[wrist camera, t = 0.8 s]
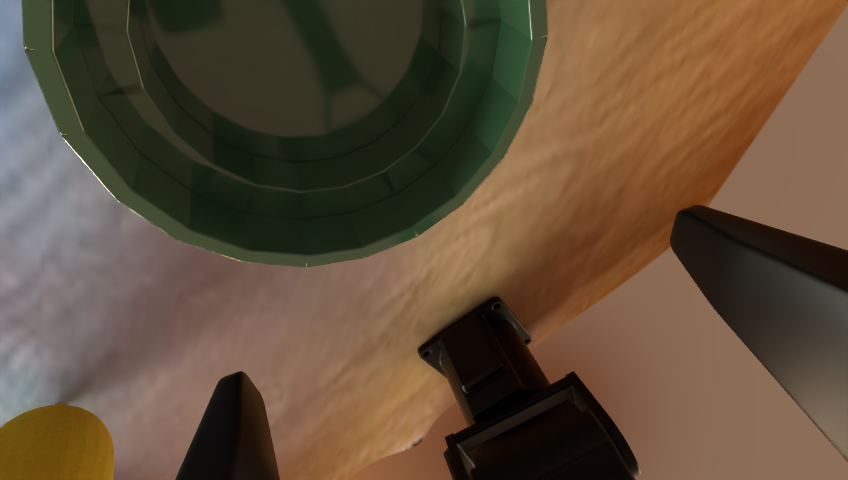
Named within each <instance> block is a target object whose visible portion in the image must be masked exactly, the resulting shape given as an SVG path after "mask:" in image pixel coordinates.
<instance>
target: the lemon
mask: <svg viewBox="0 0 848 480" xmlns="http://www.w3.org/2000/svg"><path fill="white" fill-rule="evenodd" d="M113 473H114V449H113V442H112V438H111V435H110V433H109V431H108V430H107V428H106V427H105V425H104V424H103V422H102V421H101V420H100V419H99V418H98V417H96V416H95V415H93V414H92V413H90V412H89V411H87V410H84V409H82V408H79V407H74V406H69V405H67V404H65V403H58V404H55V405H51V406H45V407H40V408H36V409H33V410H30V411H28V412H25V413H23V414H21V415H19V416H17V417H15V418H14V419H12V420H10V421H9V422H7V423H6V424H4V425H3V426H2V427H1V428H0V480H112V478H113Z"/></svg>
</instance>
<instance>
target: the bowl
mask: <svg viewBox="0 0 848 480" xmlns="http://www.w3.org/2000/svg"><path fill="white" fill-rule="evenodd" d="M22 18H23V43H24V47H25V53H26V55H27V57H28V60H29V62H30V65H31V67H32V69H33V72H34V74H35V77H36V79H37V81H38V84H39V86H40V89H41V91H42V93H43V96H44V98H45V100H46V103H47V105H48V108H49V110H50V112H51V115H52V117H53V120H54V122H55V124H56V127H57V129H58V132H59V134H60V135H62V138H63V139H64V140H65V141H66V143H67V144H68V145H69V146H70V147H71V148H72V150H73V151H74V152H75V153H76V154H77V155H78V157H79V158H80V159H81V160H82V161H83V162H84V164H85V165H86V166H87V167H88V168H89V169H90V171H91V172H92V173H93V174H94V175H95V176H96V178H97V179H98V180H99V181H100V182H101V183H102V185H103V186H104V187H105V188H106V189H107V190H108V192H109V193H110V194H111V195H112V196H113V197H114V198H115V199H116V200H117V201H118V202H119V203H121V204H122V205H124V206H126V207H127V208H129V209H130V210H132V211H133V212H135V213H136V214H138V215H139V216H141V217H142V218H144V219H145V220H147V221H148V222H150V223H152V224H153V225H155V226H156V227H158V228H159V229H161V230H162V231H164V232H165V233H167V234H168V235H170V236H171V237H173V238H174V239H176V240H179V241H181V242H183V243H186V244H189V245H192V246H195V247H198V248H201V249H204V250H207V251H210V252H213V253H216V254H219V255H222V256H225V257H228V258H231V259H234V260H237V261H240V262H243V261H244V262H245V263H256V264H268V265H281V266H294V267H311V266H317V265H324V264H330V263H336V262H343V261H349V260H355V259H362V258H364V257H368V256H371V255H373V254H376V253H378V252H381V251H383V250H385V249H388V248H390V247H393V246H395V245H398V244H400V243H403V242H405V241H408V240H410V239H412V238H415V237H417V235H418V236H419V235H420V234H422V233H423V232H425V231H426V230H427V229H429V228H430V227H432V226H433V225H435V224H436V223H437V222H439V221H440V220H442V219H443V218H444V217H446V216H447V215H449V214H450V213H451V212H453V211H454V210H456V209H457V208H458V207H460V206H461V205H463V204H464V202H466V201H467V200H468V199H469V198H470V196H471V195H472V194H473V193H474V192H475V191H476V190H477V188H478V187H479V186H480V185H481V184H482V183H483V182H484V180H485V179H486V178H487V177H488V176H489V175H490V174H491V172H492V171H493V170H494V169H495V168H496V167H497V166H498V165H499V163H500V162H501V161H502V160H503V158H504V157H505V156H506V154H507V152H508V150H509V148H510V146H511V144H512V142H513V140H514V138H515V136H516V134H517V132H518V130H519V129H520V127H521V125H522V123H523V121H524V119H525V117H526V115H527V113H528V111H529V109H530V107H531V105H532V102H533V99H534V94H535V90H536V85H537V81H538V77H539V72H540V68H541V64H542V59H543V55H544V50H545V46H546V42H547V35H548V32H547V10H546V0H22Z"/></svg>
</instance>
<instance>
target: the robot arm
mask: <svg viewBox="0 0 848 480" xmlns="http://www.w3.org/2000/svg"><path fill="white" fill-rule="evenodd" d="M670 245H671V248H672V250H673V252H674V253H675V254H676V256H677V257H678V259H679V260H680V262H681V263H682V264H683V266H684V267H685V269H686V270H687V271H688V273H689V274H690V276H691V277H692V278H693V280H694V281H695V283H696V284H697V286H698V287H699V288H700V290H701V291H702V293H703V294H704V296H705V297H706V298H707V300H708V301H709V302H710V304H711V305H712V306H713V308H714V309H715V310H716V311H717V313H718V314H719V315H720V316H721V317H722V319H723V320H724V321H725V322H726V323H727V324H728V325H729V327H730V328H731V329H732V330H733V331H734V332H735V333H736V335H737V336H738V337H739V338H740V339H741V340H742V341H743V343H744V344H745V345H746V346H747V347H748V348H749V349H750V351H751V352H752V353H753V354H754V355H755V356H756V357H757V359H758V360H759V361H760V362H761V363H762V364H763V366H764V367H765V368H766V369H767V370H768V371H769V372H770V374H771V375H772V376H773V377H774V378H775V379H776V380H777V382H778V383H779V384H780V385H781V386H782V387H783V388H784V390H785V391H786V392H787V393H788V394H789V395H790V396H791V398H792V399H793V400H794V401H795V402H796V403H797V405H798V406H799V407H800V408H801V409H802V410H803V411H804V413H805V414H806V415H807V416H808V417H809V418H810V419H811V421H812V422H813V423H814V424H815V425H816V426H817V427H818V428H819V430H820V431H821V432H822V433H823V434H824V435H825V437H826V438H827V439H828V440H829V441H830V442H831V443H832V445H833V446H834V447H835V448H836V449H837V450H838V451H839V453H840V454H841V455H842V456H843V457H844V458H845V459H846V461H847V462H848V250H845V249H841V248H837V247H835V246H831V245H828V244H825V243H822V242H819V241H815V240H812V239H809V238H805V237H802V236H799V235H796V234H793V233H789V232H786V231H783V230H780V229H776V228H773V227H770V226H767V225H763V224H760V223H757V222H754V221H751V220H747V219H744V218H741V217H738V216H734V215H731V214H728V213H725V212H721V211H718V210H715V209H712V208H709V207H705V206H702V205H693V206H690V207H687V208H685V209H682V210H680V211H678V213H677V214H676V216H675V220H674V224H673V228H672V233H671V237H670ZM531 342H532V337H531V335H530V333H529V332H528V331H527V330H526V329H525V327H524V326H523V325H522V324H521V323H520V321H519V320H518V319H517V318H516V317H515V315H514V314H513V313H512V312H511V311H510V309H509V308H508V307H507V306H506V305H505V303H504V302H503V301H502V300H501V299H500V298H499V297H493V298H491V299H490V300H488V301H487V302H485V303H484V304H482V305H481V306H479V307H478V308H476V309H475V310H473V311H472V312H470V313H469V314H467V315H466V316H464V317H463V318H461V319H460V320H458V321H457V322H456V323H454V324H453V325H451V326H450V327H448V328H447V329H445V330H444V331H442V332H441V333H439V334H438V335H436V336H435V337H433V338H432V339H430V340H429V341H427V342H426V343H424V344H423V345H421V346H420V347H419V348H418V353H419V356H420V357H421V358H422V359H423V360H424V361H426V362H427V363H428V364H430V365H431V366H432V367H433V368H435V369H436V370H437V371H439V372H440V373H441V374H443V375H444V376H445V377H446V378H447V379H448V382H449V384H450V386H451V389H452V391H453V393H454V395H455V398H456V400H457V402H458V405H459V407H460V409H461V411H462V413H463V416H464V418H465V420H466V423H467V425H468V427H467V428H465V429H463V430H461V431H459V432H458V433H456V434H453V433H452V434H450V435H448V436H446V437H445V439H446V443H447V446H448V448H447V450H446V451H445V452H444V457H445V459H446V462H447V465H448V467H449V470H450V473H451V475H452V478H453V480H635V478H634V477H636V476H638V475H640V468H639V465H638V463H637V461H636V459H635V456H634V455H633V453H632V451H631V449H630V447H629V445H628V443H627V442H626V440H625V439H624V437H623V435H622V434H621V432H620V431H619V429H618V428H617V426H616V425H615V423H614V422H613V421H612V419H611V418H610V417H609V415H608V414H607V413H606V411H605V410H604V409H603V408H602V406H601V405H600V404H599V403H598V401H597V400H596V399H595V398H594V396H593V395H592V394H591V392H590V391H589V390H588V389H587V387H586V386H585V385H584V384H583V382H582V381H581V380H580V379H579V377H578V376H577V375H576V374H575V372H571V373H569V374H567V375H566V377H565V378H563V379H561V380H559V381H557V382H555V383H553V384H551V385H550V383H549V381H548V380H547V378H546V377H545V375H544V373H543V372H542V370H541V368H540V367H539V365H538V363H537V362H536V360H535V359H534V357H533V355H532V354H531V352H530V350H529V349H528V347H527V345H528V344H530V343H531ZM175 480H280V478H279V472H278V467H277V462H276V457H275V453H274V448H273V443H272V438H271V433H270V429H269V424H268V419H267V414H266V409H265V405H264V401H263V398H262V396H261V394H260V392H259V391H258V390H257V388H256V387H255V385H254V384H253V383H252V381H251V380H250V379H249V377H248V376H247V374H246V373H244V372H242V371H240V372H236V373H233V374H231V375H228V376H225V377H223V378H221V379H220V380H219V382H218V383H217V386H216V388H215V390H214V392H213V395H212V397H211V399H210V402H209V404H208V406H207V408H206V411H205V413H204V415H203V418H202V420H201V422H200V424H199V427H198V429H197V431H196V434H195V436H194V438H193V440H192V443H191V445H190V447H189V449H188V452H187V454H186V456H185V459H184V461H183V463H182V465H181V468H180V470H179V472H178V475H177V477H176V479H175Z"/></svg>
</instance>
